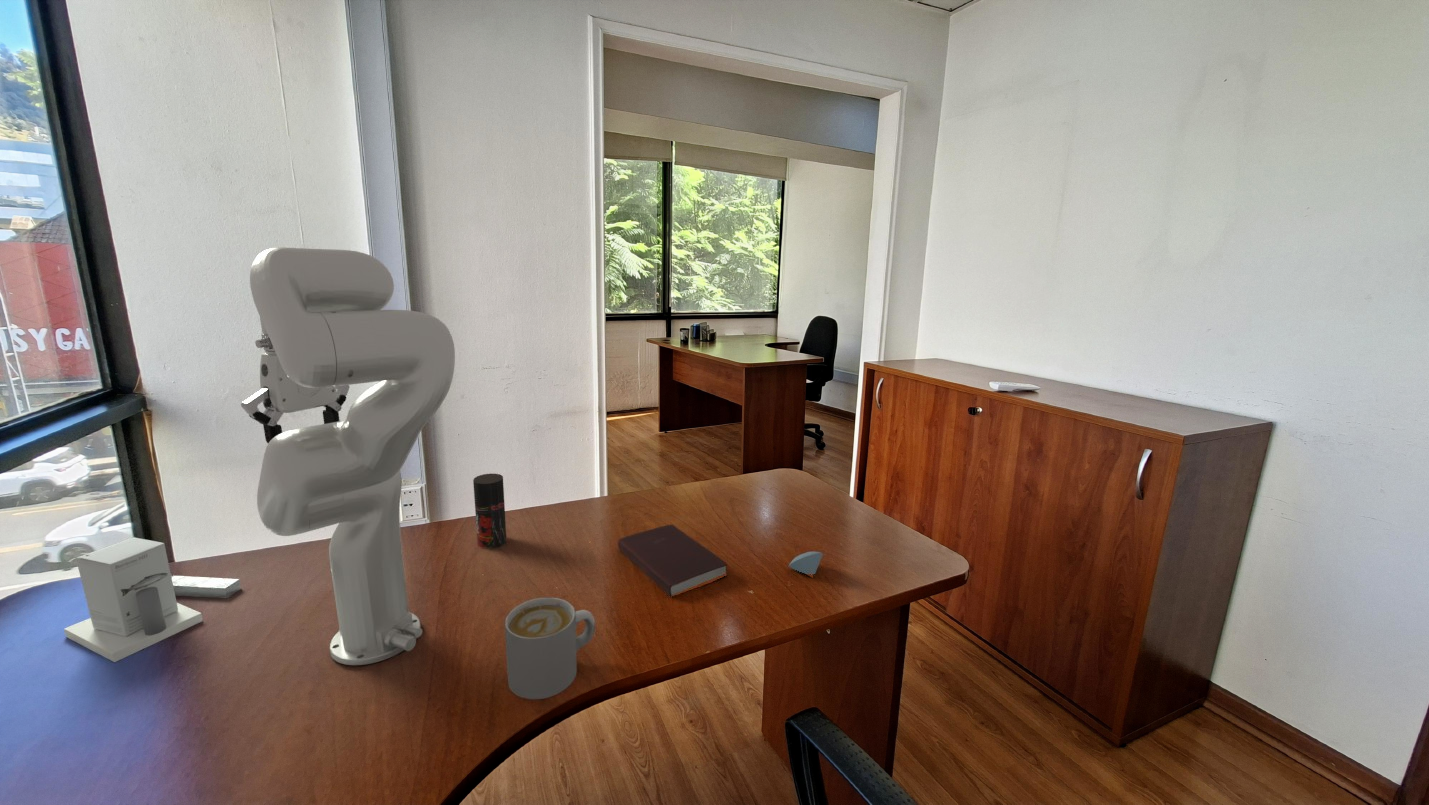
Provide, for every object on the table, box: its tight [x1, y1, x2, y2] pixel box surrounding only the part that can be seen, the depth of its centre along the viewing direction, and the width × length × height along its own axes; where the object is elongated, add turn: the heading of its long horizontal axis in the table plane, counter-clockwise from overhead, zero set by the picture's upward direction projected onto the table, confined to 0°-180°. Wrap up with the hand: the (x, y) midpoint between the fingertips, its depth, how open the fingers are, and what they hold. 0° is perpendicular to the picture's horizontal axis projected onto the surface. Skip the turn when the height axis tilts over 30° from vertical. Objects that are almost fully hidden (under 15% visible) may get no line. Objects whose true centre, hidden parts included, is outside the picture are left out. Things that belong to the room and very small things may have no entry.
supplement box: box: [75, 537, 178, 636], centre depth 89 cm, size 7×7×13 cm
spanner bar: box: [171, 573, 242, 599], centre depth 101 cm, size 16×4×2 cm, turn 88°
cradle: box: [63, 587, 204, 663], centre depth 90 cm, size 14×11×8 cm
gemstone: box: [788, 550, 824, 575], centre depth 114 cm, size 8×8×5 cm
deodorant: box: [472, 473, 507, 550], centre depth 121 cm, size 6×6×15 cm
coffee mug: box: [504, 596, 596, 700], centre depth 84 cm, size 13×10×10 cm
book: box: [617, 524, 728, 598], centre depth 117 cm, size 14×22×4 cm, turn 36°
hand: (305, 438), depth 99 cm, fingers open, 9 cm apart
